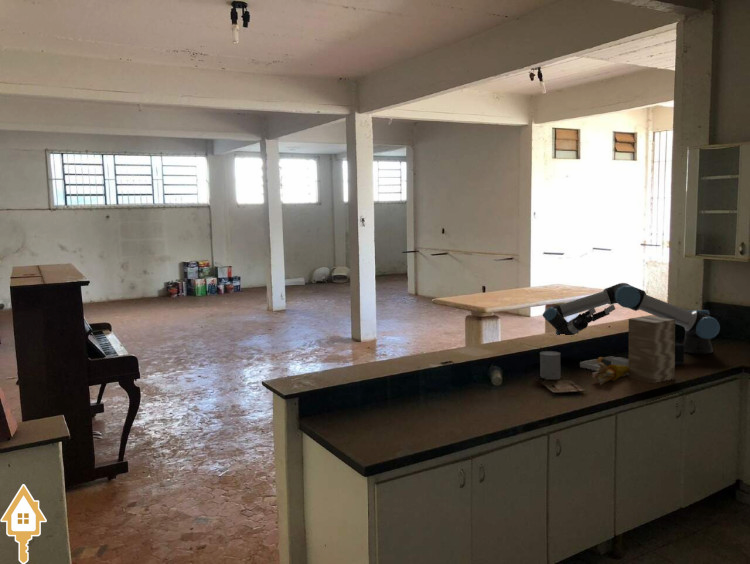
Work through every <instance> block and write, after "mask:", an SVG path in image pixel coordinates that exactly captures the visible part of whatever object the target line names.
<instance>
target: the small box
mask: <svg viewBox="0 0 750 564" xmlns="http://www.w3.org/2000/svg"><path fill="white" fill-rule="evenodd" d="M682 344H683V343H679V342H677V341H675V366H684V364H685V363H684V361H685V359H684V358H685V352H684V345H682Z"/></svg>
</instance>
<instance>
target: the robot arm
mask: <svg viewBox="0 0 750 564" xmlns="http://www.w3.org/2000/svg"><path fill="white" fill-rule="evenodd" d="M615 304H618V306H619V305H620V307H622V308H627V309H629V310H632V311H635V312H636V311H642V312H645V313H648V314H650V315H651V316H654V317H661V318H668V319H675V325H679V326H681V327H683V328H684V331H685V332H684V339H683V342H682V343H681V344H682V345H684V353H686V352H687V354H692V353H693V355H708V353H709V354H713V350H714V348H713V345H712V343H711V340H712V339H713V338H715V337H716V336H717V335H718V334H719V333H720V330H721V325H720V322H719V321H718V320H717V319H716V318H715V317H712V316H711V313H710V310H709V309H692V310H691V309H689V310H688V309H684V308H681V307H679V306H676V305H673V304H671V303H669V302H665V301H663V300H660V299H659V298H655V297H653V296H650V295H648V294H647V293H646V291H645V290H643V289H641V288H638V287H635V286H633V285H631V284H630V283H627V282H620V283H616V284H614V285H612V286H609V287H606V288H604V289H603V291H600V292H599V291H598V292H597V293H593V294H590V295H587V296H584V297H581V298H577V299H575V300H572V301H567V302H565V303H563V304H559V305H556V306H549V307H547V308H546V309H545V311H544V312H543V313H542V317H543V318H544V319H545V320H546V321H547V322H548V323H549V324H550V325H551V326H552V327H553V328H554V329H555V335H556V334H557V335H560V334H565V335H573V336H575V335H576V334H579V332H581V331H583V330H585V329H587V328H588V327H589V323H592V322H596V321H597V320H599V319H602V318H604V317H606V316H609V315H610V314H611V313H612V312H613V311H615V310H616V307H615ZM605 305H609V306H607V307H605V308H604V309H603V310H601V311H599V312H598V311H597V310H596V308H598V307H602V306H605ZM576 314H578V315H577V316H576V317H574V318H572V319H571V320H569V321H568V320H567V319H565V318H566V317H570V316H573V315H576ZM557 335H556V336H557Z"/></svg>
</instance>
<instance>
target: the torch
mask: <svg viewBox="0 0 750 564" xmlns="http://www.w3.org/2000/svg"><path fill="white" fill-rule="evenodd" d="M598 364H599V366H600V368H598V369H596V370H597V371H594V372H592V373H591V374H592V378H593V379H595V380H596V382H599V385H603V384H606V383H607V382H608V381H612V382H615V381H616V380H617V379H619V378H621V377H620V376H623V375H625V374H627V373H628V372H629V367H628V366H622V365H613V364H611V365H609V366H606V365H605V364H604V363H602V362H601V363H598ZM623 377H624V376H623Z"/></svg>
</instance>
